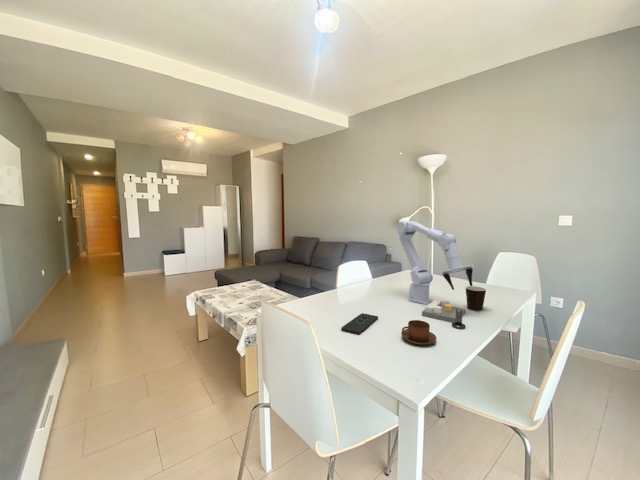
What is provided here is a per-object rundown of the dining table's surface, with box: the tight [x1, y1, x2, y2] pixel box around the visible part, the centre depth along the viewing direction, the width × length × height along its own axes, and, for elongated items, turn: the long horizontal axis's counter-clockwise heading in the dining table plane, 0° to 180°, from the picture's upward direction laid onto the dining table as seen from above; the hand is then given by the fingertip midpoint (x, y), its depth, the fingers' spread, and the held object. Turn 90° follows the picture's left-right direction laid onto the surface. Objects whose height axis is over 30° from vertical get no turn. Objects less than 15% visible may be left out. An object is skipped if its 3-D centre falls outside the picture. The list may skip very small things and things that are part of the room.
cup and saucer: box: [401, 319, 437, 346], centre depth 101 cm, size 12×12×6 cm
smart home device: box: [340, 312, 379, 336], centre depth 116 cm, size 8×2×20 cm
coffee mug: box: [465, 285, 487, 312], centre depth 132 cm, size 12×9×10 cm
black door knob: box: [451, 309, 466, 330], centre depth 112 cm, size 5×5×7 cm
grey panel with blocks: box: [421, 299, 466, 324], centre depth 126 cm, size 14×16×5 cm
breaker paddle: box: [444, 304, 454, 312], centre depth 125 cm, size 3×2×3 cm, turn 50°
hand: (462, 287), depth 125 cm, fingers open, 7 cm apart
